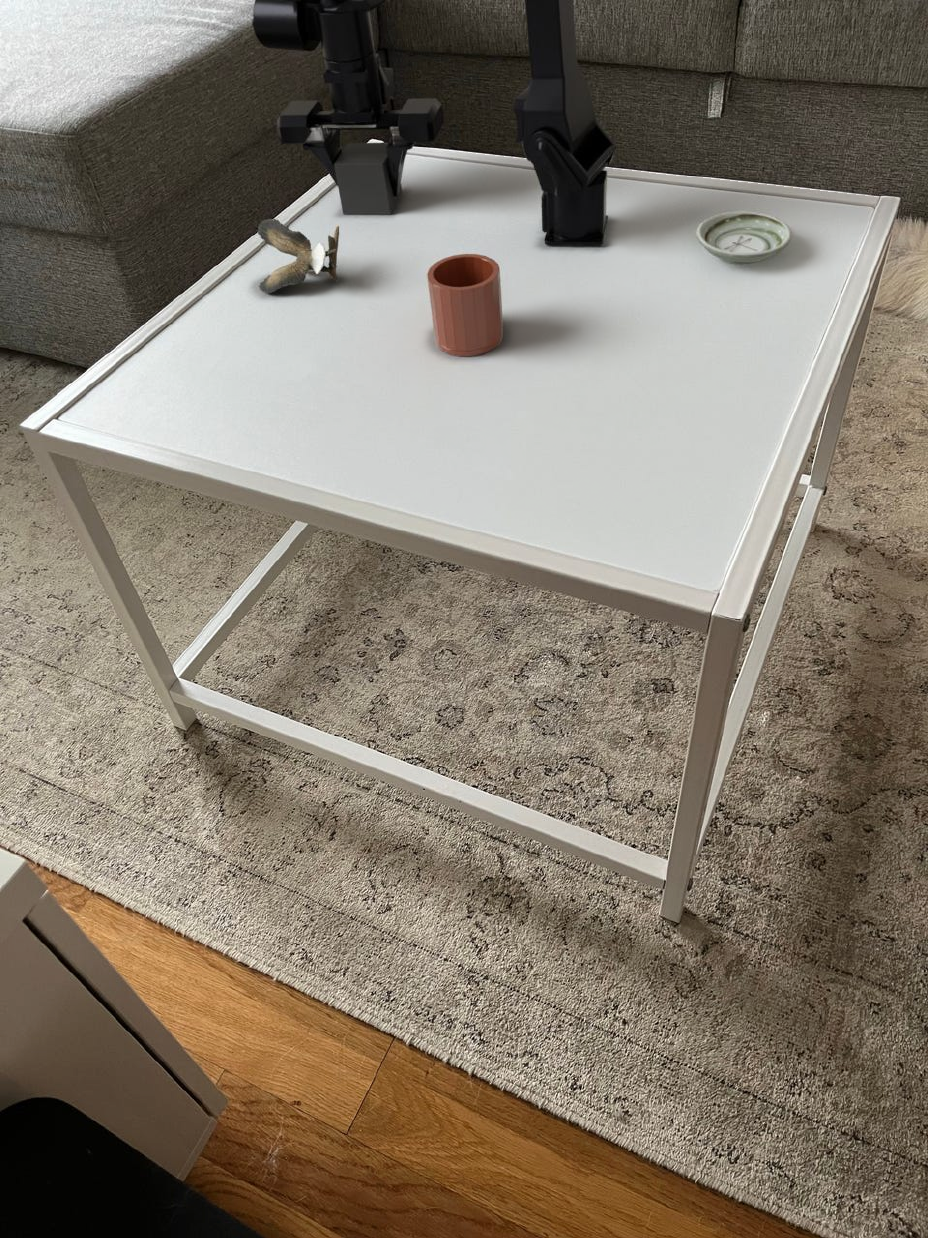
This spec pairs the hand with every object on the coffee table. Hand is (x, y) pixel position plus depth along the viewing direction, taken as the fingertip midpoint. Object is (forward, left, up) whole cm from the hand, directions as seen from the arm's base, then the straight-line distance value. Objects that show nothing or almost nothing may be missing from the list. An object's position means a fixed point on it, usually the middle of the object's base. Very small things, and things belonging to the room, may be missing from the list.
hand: (371, 194), depth 114 cm
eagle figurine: (+3, +19, -1) cm, 19 cm away
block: (0, 0, -1) cm, 1 cm away
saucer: (-44, +11, -1) cm, 45 cm away
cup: (-18, +29, -1) cm, 34 cm away
